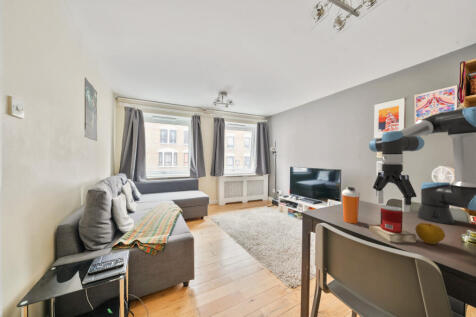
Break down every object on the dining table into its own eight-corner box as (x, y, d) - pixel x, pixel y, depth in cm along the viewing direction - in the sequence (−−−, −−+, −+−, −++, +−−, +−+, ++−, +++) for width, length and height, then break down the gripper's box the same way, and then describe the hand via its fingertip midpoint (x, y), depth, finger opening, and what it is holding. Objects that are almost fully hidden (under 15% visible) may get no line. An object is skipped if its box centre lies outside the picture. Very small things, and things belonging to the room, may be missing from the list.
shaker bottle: (343, 222, 100) (343, 188, 100) (340, 217, 109) (340, 186, 108) (361, 225, 97) (362, 189, 97) (357, 219, 105) (357, 187, 105)
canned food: (406, 234, 79) (407, 210, 79) (386, 232, 81) (387, 209, 81) (395, 227, 87) (395, 205, 87) (376, 226, 88) (377, 204, 88)
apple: (439, 250, 71) (439, 228, 71) (410, 240, 80) (411, 221, 79) (448, 245, 75) (449, 225, 75) (420, 237, 83) (420, 218, 83)
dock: (391, 230, 90) (391, 224, 90) (415, 242, 78) (416, 234, 78) (369, 230, 90) (369, 224, 90) (390, 242, 78) (390, 235, 78)
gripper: (364, 162, 96) (365, 200, 96) (410, 165, 71) (410, 216, 71) (378, 162, 96) (378, 200, 96) (428, 164, 71) (428, 216, 71)
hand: (392, 207), depth 84 cm, fingers open, 13 cm apart
